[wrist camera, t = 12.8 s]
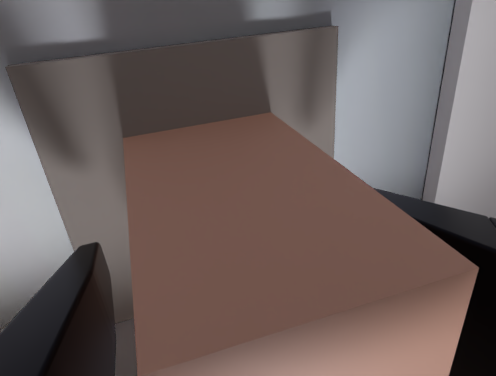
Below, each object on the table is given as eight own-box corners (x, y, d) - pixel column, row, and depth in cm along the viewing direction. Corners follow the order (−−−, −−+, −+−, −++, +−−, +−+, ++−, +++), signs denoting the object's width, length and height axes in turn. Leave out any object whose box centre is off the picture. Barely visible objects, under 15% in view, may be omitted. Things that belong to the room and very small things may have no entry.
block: (271, 112, 10) (479, 267, 4) (276, 230, 12) (427, 449, 6) (122, 138, 9) (136, 377, 4) (154, 261, 11) (197, 551, 5)
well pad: (332, 25, 10) (338, 26, 10) (326, 257, 14) (329, 262, 14) (8, 65, 8) (4, 67, 8) (102, 320, 12) (102, 327, 12)
